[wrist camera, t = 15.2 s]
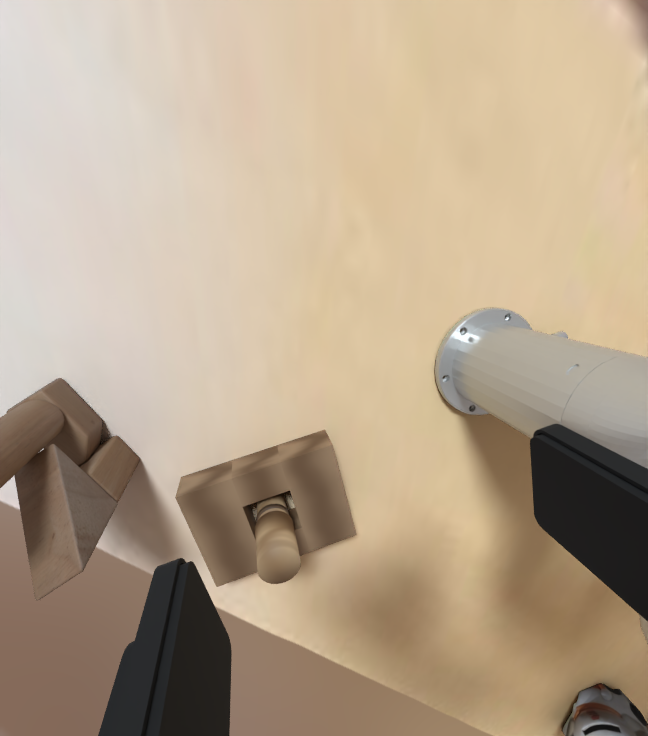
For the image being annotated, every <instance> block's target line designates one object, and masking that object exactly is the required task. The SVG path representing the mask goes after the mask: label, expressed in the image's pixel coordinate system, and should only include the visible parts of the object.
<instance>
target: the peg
mask: <svg viewBox="0 0 648 736" xmlns="http://www.w3.org/2000/svg"><path fill="white" fill-rule="evenodd" d="M256 505H257V523H256V526H255V537H256V555H257V571H258V575H259V576H260V578H261V579H262V580H263V581H265V582H267V583H271V584H279V583H283V582H286V581H288V580H290V579H291V578H293V577H294V576H295V575H296V574H297V572H298V571H299V569H300V565H301V560H300V555H299V550H298V545H297V540H296V535H295V531H294V526H293V521H292V518H291V517H290V516H289V512H288V510H287V505H286V500H285V495H284V493H281V494H278V495H275V496H272V497H269V498H267V499H264V500H261V501H258V502H256Z"/></svg>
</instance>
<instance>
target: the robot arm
mask: <svg viewBox="0 0 648 736" xmlns="http://www.w3.org/2000/svg"><path fill="white" fill-rule="evenodd" d="M435 377H436V383H437V386H438V389H439V391H440V393H441V395H442V396H443V398H444V399H445V400H446V401H447V402H448V403H449V404H450V405H452V406H453V407H454V408H456V409H457V410H459V411H461V412H463V413H466V414H470V415H484V414H491V415H493V416H495V417H496V418H498V419H500V420H501V421H503V422H505V423H506V424H508V425H510V426H511V427H513V428H514V429H516V430H518V431H519V432H521V433H523V434H524V435H526V436H528V437H529V438H531V440H530V449H531V466H532V484H533V501H534V515H535V518H536V520H537V522H538V524H539V525H540V526H541V527H542V528H543V529H544V530H545V531H546V532H547V533H548V534H549V535H550V536H552V537H553V538H554V539H555V540H556V541H557V542H558V543H559V544H561V545H562V546H563V547H564V548H565V549H566V550H567V551H568V552H570V553H571V554H572V555H573V556H574V557H575V558H576V559H578V560H579V561H580V562H581V563H582V564H583V565H584V566H585V567H587V568H588V569H589V570H590V571H591V572H592V573H593V574H594V575H596V576H597V577H598V578H599V579H600V580H601V581H602V582H603V583H605V584H606V585H607V586H608V587H609V588H610V589H611V590H613V591H614V592H615V593H616V594H617V595H618V596H619V597H620V598H622V599H623V600H624V601H625V602H626V603H627V604H628V605H629V606H631V607H632V608H633V609H634V610H635V611H636V612H637V613H639V616H640V624H641V629H642V632H643V634H644V637H645V639H646V642H647V644H648V357H644V356H640V355H636V354H631V353H627V352H623V351H619V350H614V349H610V348H606V347H602V346H597V345H593V344H589V343H585V342H580V341H576V340H572V339H568V336H567V334H566V333H565V332H563V331H560V332H557V333H554V334H551V335H550V334H546V333H542V332H538V331H533V330H532V328H531V327H530V325H529V324H528V322H527V321H526V320H525V319H524V318H523V317H522V316H520V315H519V314H517V313H515V312H513V311H510V310H506V309H501V308H484V309H481V310H478V311H474V312H473V313H471V314H469V315H467V316H465V317H464V318H462V319H461V320H460V321H459V322H457V323H456V324H455V325H454V326H453V327H452V329H451V330H450V331H449V332H448V334H447V335H446V337H445V338H444V340H443V341H442V344H441V346H440V348H439V350H438V354H437V358H436V364H435ZM230 686H231V644H230V639H229V636H228V633H227V632H226V629H225V627H224V625H223V623H222V621H221V619H220V617H219V615H218V613H217V610H216V608H215V606H214V604H213V602H212V600H211V598H210V596H209V594H208V592H207V589H206V587H205V585H204V583H203V581H202V579H201V577H200V575H199V573H198V571H197V568H196V566H195V564H194V563H193V562H192V561H190V562H188V563H186V561H185V560H184V559H183V558H180V559H177V560H174V561H171V562H169V563H166V564H163V565H160V566H158V567H157V568H156V569H155V571H154V575H153V578H152V582H151V585H150V589H149V593H148V596H147V599H146V603H145V606H144V611H143V614H142V617H141V621H140V624H139V628H138V631H137V635H136V638H135V641H133V642H132V643H130V644H129V645H128V646H127V648H126V649H125V651H124V654H123V656H122V659H121V662H120V665H119V669H118V672H117V675H116V679H115V682H114V686H113V689H112V692H111V695H110V699H109V702H108V706H107V708H106V712H105V715H104V719H103V722H102V725H101V728H100V732H99V735H98V736H229V727H230V688H231V687H230Z"/></svg>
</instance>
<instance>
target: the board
mask: <svg viewBox="0 0 648 736" xmlns="http://www.w3.org/2000/svg"><path fill="white" fill-rule="evenodd" d="M289 490H290V492H291V496H292V499H293V502H294V505H295V508H293V509H290V510H288V512H289V516H290V517H291V518H292V521H293V526H294V531H295V535H296V540H297V545H298V550H299V555H300V556H301V555H304V554H306V553H309V552H312V551H314V550H317V549H320V548H322V547H325V546H328V545H330V544H333V543H336V542H338V541H341V540H344V539H346V538H349V537H351V536H354V535H356V531H355V527H354V523H353V520H352V516H351V512H350V509H349V505H348V501H347V497H346V494H345V490H344V486H343V482H342V479H341V475H340V471H339V468H338V464H337V460H336V456H335V453H334V449H333V445H332V443H331V441H330V439H329V437H328V435H327V433H326V431H325V430H323V431H320V432H317V433H314V434H311V435H308V436H305V437H302V438H298V439H295V440H292V441H289V442H286V443H283V444H280V445H277V446H274V447H271V448H268V449H265V450H262V451H259V452H256V453H253V454H250V455H247V456H244V457H241V458H238V459H235V460H232V461H229V462H226V463H223V464H220V465H217V466H214V467H211V468H208V469H205V470H202V471H199V472H195V473H192V474H189V475H186V476H183V477H181V480H180V483H179V487H178V490H177V494H176V497H175V498H176V500H177V502H178V504H179V506H180V509H181V511H182V513H183V515H184V517H185V519H186V522H187V524H188V526H189V528H190V530H191V532H192V535H193V537H194V539H195V541H196V543H197V545H198V548H199V550H200V552H201V554H202V556H203V558H204V560H205V563H206V565H207V567H208V569H209V571H210V573H211V576H212V578H213V580H214V582H215V584H216V586H217V587H218V586H221V585H224V584H226V583H229V582H232V581H234V580H237V579H240V578H242V577H245V576H248V575H250V574H253V573H256V572H258V571H257V555H256V537H255V526H256V523H257V522H256V521H255V518H254V516H253V513H252V510H251V508H250V505H249V504H252V503H255V502H258V501H261V500H264V499H267V498H269V497H272V496H275V495H278V494H281V493H284V492H287V491H289Z"/></svg>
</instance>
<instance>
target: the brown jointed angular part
mask: <svg viewBox="0 0 648 736" xmlns="http://www.w3.org/2000/svg"><path fill="white" fill-rule="evenodd" d="M102 424H103V423H102V420H101V418H100V417H99V416H98V415H97V414H96V413H95V412H94V411H93V410H92V409H91V408H90V407H89V406H88V405H87V404H86V403H85V402H84V401H83V400H82V399H81V398H80V397H79V396H78V395H77V393H76V392H75V391H74V390H73V389H72V388H71V387H70V386H69V385H68V384H67V383H66V382H65V381H64V380H63V379H61V378H58V379H56V380H54V381H53V382H51V383H50V384H48V385H46V386H45V387H43V388H42V389H40V390H38V391H37V392H35V393H34V394H32V395H31V396H29V397H27V398H26V399H24V400H23V401H21V402H20V403H18V404H16V405H15V406H13V407H12V408H10V409H8V411H7V414H5V415H4V416H2V417H1V418H0V488H1V487H2V486H3V485H4V484H5V483H6V482H7V481H9V480H10V479H11V478H12V477H13V476H14V475H15V481H16V487H17V493H18V499H19V505H20V511H21V516H22V523H23V529H24V535H25V541H26V547H27V553H28V559H29V565H30V570H31V576H32V582H33V588H34V594H35V599H36V600H39V599H41V598H43V597H44V596H46V595H47V594H49V593H50V592H52V591H53V590H55V589H56V588H58V587H59V586H61V585H63V584H64V583H66V582H67V581H69V580H70V579H72V578H73V577H75V576H76V575H78V574H80V573H81V572H83V570H84V568H85V566H86V564H87V562H88V560H89V558H90V556H91V555H92V553H93V551H94V549H95V547H96V545H97V543H98V541H99V539H100V537H101V535H102V533H103V531H104V529H105V527H106V525H107V523H108V522H109V520H110V518H111V516H112V514H113V512H114V510H115V508H116V506H117V503H118V501H119V499H120V498H121V496H122V494H123V492H124V490H125V488H126V486H127V484H128V482H129V480H130V478H131V476H132V474H133V472H134V470H135V468H136V466H137V465H138V463H139V461H140V460H139V457H138V456H137V455H136V454H135V453H134V452H133V451H132V450H131V449H130V448H129V447H128V446H127V445H126V444H125V443H124V442H123V441H122V440H121V439H120V438H119V437H118V436H114V437H112V438H110V439H109V440H107V441H105V442H104V443H102V444H101V445H100V442H101V433H102ZM43 448H44V450H42V449H43ZM41 450H42V451H41ZM40 451H41V452H40ZM38 452H39V453H38ZM37 453H38V454H37Z"/></svg>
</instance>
